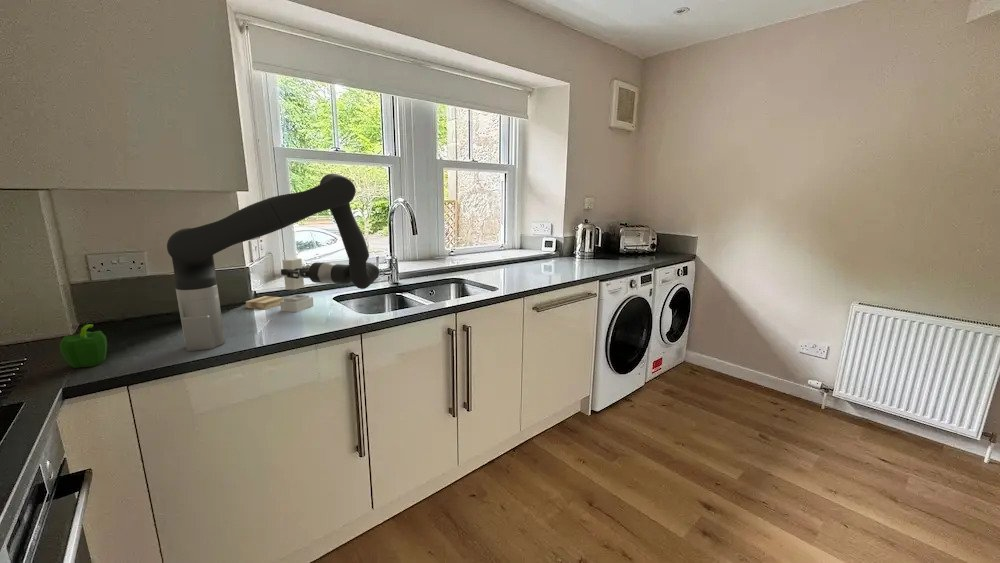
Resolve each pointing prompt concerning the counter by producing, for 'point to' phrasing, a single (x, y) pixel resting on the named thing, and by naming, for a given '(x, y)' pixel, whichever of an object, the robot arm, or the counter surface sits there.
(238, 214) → the robot arm
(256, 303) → the wooden slatted coaster
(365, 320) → the counter surface
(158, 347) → the counter surface
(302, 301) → the beige rectangular block
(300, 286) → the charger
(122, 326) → the counter surface
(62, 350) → the bell pepper
